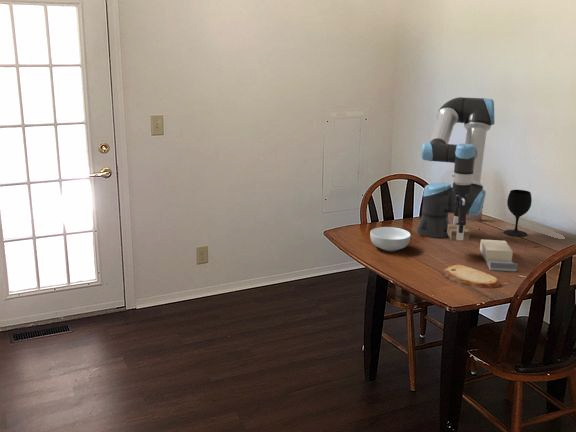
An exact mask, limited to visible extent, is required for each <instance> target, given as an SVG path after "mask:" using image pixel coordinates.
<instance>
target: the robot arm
mask: <svg viewBox="0 0 576 432" xmlns="http://www.w3.org/2000/svg"><path fill="white" fill-rule="evenodd" d="M436 120H437V121H436V123H435V127H434V129H433V132H432V135H431V138H430V141H429V142H423V143H422V146H421V159H422V160H423V161H428V162H439V163H440V162H441V163H451V164H454V166H453V167H454V169H453V174H452V179H453V180H452V181H453V183H452V185H451V183H449V182H434V183H429V184H427V185H425V186H424V190H423V194H422V197H423V200H422V210H421V211H422V212H421V217H420V220H419V222H418V224H417V226H416V233H417V234H419V235H421V236H423V237H426V238H427V237H428V238H435V239H436V238H439V239H440V238H441V239H442V238H447V237H449V236H448V234H447V229H448V224H450V222H449V214H453V220H452V221H453V223H452V224H456V225H457V235H456V240H463V237H464V226H465V225H467V221H466V215H479V214H480V212H481V210H482V211H483V208H484V202H485V198H486V195H487V194H486V193H487V191H486V190H485V189H484V185H483V184H482V182H481V179H482V170H483V169H482V168H483V164H484V163H483V161H484V153H485V146H486V140H487V139H486V138H487V132H488V131H489V130H490V129H491V127H492V126H494V125H495V100H493V99H492V98H486V97H462V96H458V97H455V98H452V99H450V100H448V101H446V102H445V103H444V104H443V105H441V107H439V109H438V111H437V114H436ZM458 123H460V124H464V125H463V127H464V129H466V134H465V135H466V136H465V141H464V142H465V143H459V144H453V143H452V144H451V143H449V142H450V139H451V136H452V132H453V129H454V126H455V125H456V124H458ZM482 207H483V208H482Z"/></svg>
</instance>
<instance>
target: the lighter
mask: <svg viewBox="0 0 576 432" xmlns="http://www.w3.org/2000/svg"><path fill="white" fill-rule="evenodd" d="M483 208H484V206H483V207H482V210H481V212H480V214H479V215H466V222H482V220H483V219H482V218H483V217H482V216H483Z"/></svg>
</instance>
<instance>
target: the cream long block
mask: <svg viewBox="0 0 576 432" xmlns="http://www.w3.org/2000/svg"><path fill="white" fill-rule="evenodd" d="M479 243H480V245H479V252H480V254H481V256H482V258H483V259H484V261H485V263H486V265H487V267H488V268H489V270H490V271H498V272H499V271H501V272H502V271H503V272H516V271H517V272H518V263H516V262H513V253H514V250H512V248H511V247H510V245H509V244H508V242H507V241H506V240H497V239H496V240H495V239H494V240H493V239H480V242H479Z"/></svg>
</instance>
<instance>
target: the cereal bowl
mask: <svg viewBox="0 0 576 432" xmlns="http://www.w3.org/2000/svg"><path fill="white" fill-rule="evenodd" d="M369 233H370V234H369V236H370V241H371V243H372V244H373V245H374V246H375V247H376V248H379V249H380V250H382V249H383V250H382V251H385V250H386V252H397V251H399V250H401V249H404V248H406V247H407V246H408V245H409V243H410V241H411V233H410V232H409V231H408V230H405V229H403V228H401V227H400V228H399V227H392V226H382V227H376V228H373V229H371V230H370V232H369Z"/></svg>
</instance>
